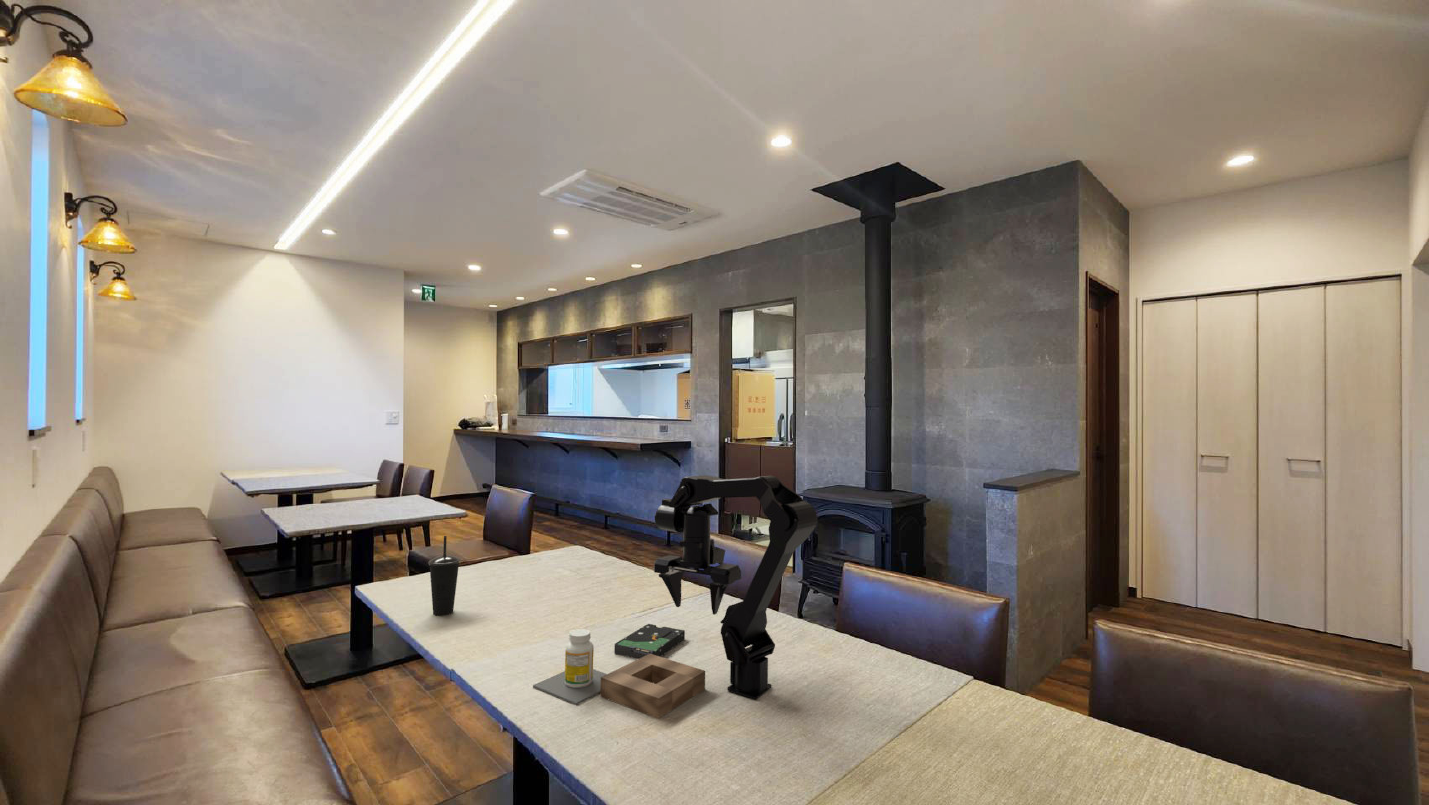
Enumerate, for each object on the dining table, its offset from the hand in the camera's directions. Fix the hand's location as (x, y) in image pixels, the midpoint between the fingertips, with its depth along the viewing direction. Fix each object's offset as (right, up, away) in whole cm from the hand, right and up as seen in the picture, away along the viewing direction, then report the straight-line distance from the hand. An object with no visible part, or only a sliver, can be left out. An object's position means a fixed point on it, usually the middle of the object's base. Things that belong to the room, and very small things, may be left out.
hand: (696, 610), depth 124 cm
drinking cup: (-68, -12, +31) cm, 75 cm away
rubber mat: (-23, -11, -9) cm, 27 cm away
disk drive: (-11, -13, +11) cm, 20 cm away
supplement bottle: (-23, -11, -9) cm, 27 cm away
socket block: (-8, -11, -12) cm, 18 cm away
